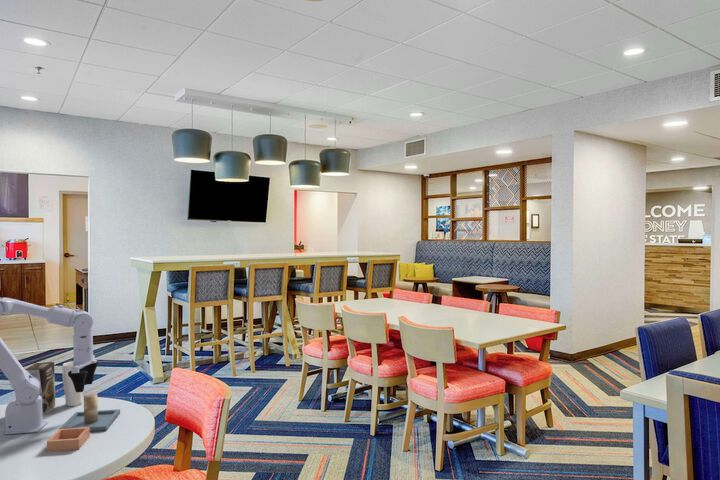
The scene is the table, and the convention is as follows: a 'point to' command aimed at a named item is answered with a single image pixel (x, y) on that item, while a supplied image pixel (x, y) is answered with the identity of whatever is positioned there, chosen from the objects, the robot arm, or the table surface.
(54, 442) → the hollow square frame
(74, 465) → the table surface
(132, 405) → the table surface
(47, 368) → the coffee box
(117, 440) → the table surface
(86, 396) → the maple peg
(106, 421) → the slate tray
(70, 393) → the white cylindrical piece
